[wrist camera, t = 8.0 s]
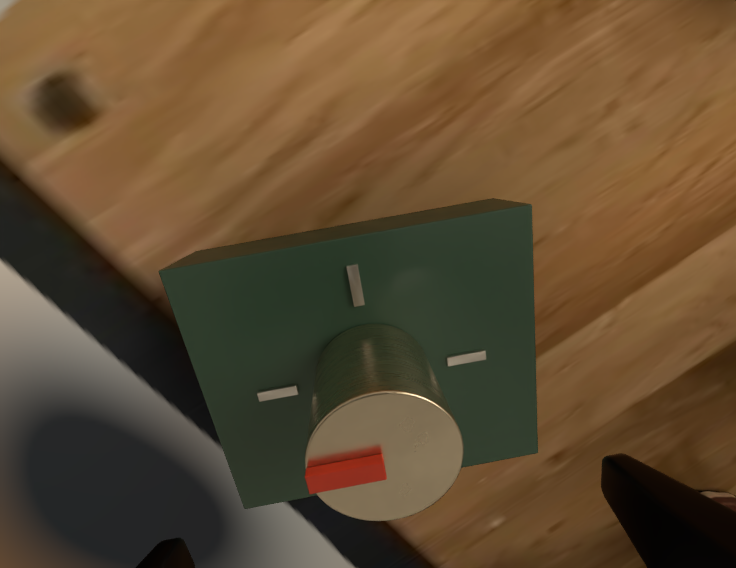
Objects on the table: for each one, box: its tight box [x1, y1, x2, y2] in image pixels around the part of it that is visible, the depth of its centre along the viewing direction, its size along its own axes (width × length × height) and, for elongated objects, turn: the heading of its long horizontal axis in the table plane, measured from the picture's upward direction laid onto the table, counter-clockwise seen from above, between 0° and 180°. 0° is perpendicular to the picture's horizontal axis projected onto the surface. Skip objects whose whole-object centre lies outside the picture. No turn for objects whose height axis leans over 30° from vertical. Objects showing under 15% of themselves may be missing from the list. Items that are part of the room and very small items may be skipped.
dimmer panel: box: [159, 198, 538, 509], centre depth 14 cm, size 12×10×3 cm
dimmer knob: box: [305, 324, 464, 521], centre depth 11 cm, size 4×4×4 cm
